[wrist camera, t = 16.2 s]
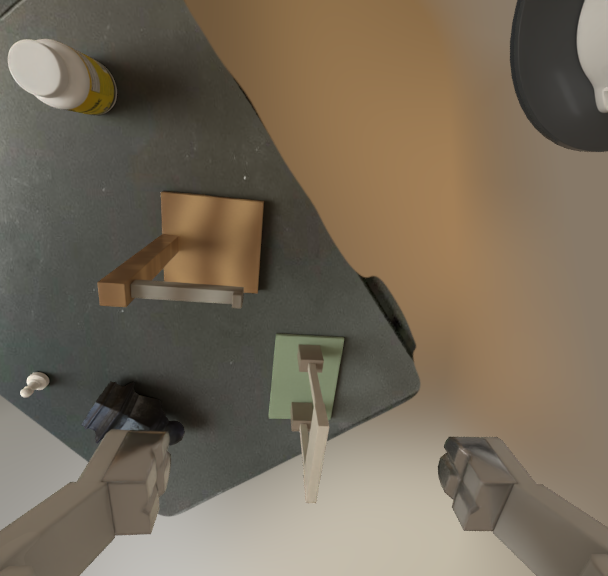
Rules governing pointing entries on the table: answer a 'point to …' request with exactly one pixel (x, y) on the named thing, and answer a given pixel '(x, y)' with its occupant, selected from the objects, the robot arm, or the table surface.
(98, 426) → the dark knob-ended part
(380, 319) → the table surface
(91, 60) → the supplement bottle
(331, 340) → the mat
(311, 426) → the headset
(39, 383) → the chess pawn
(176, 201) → the stand
